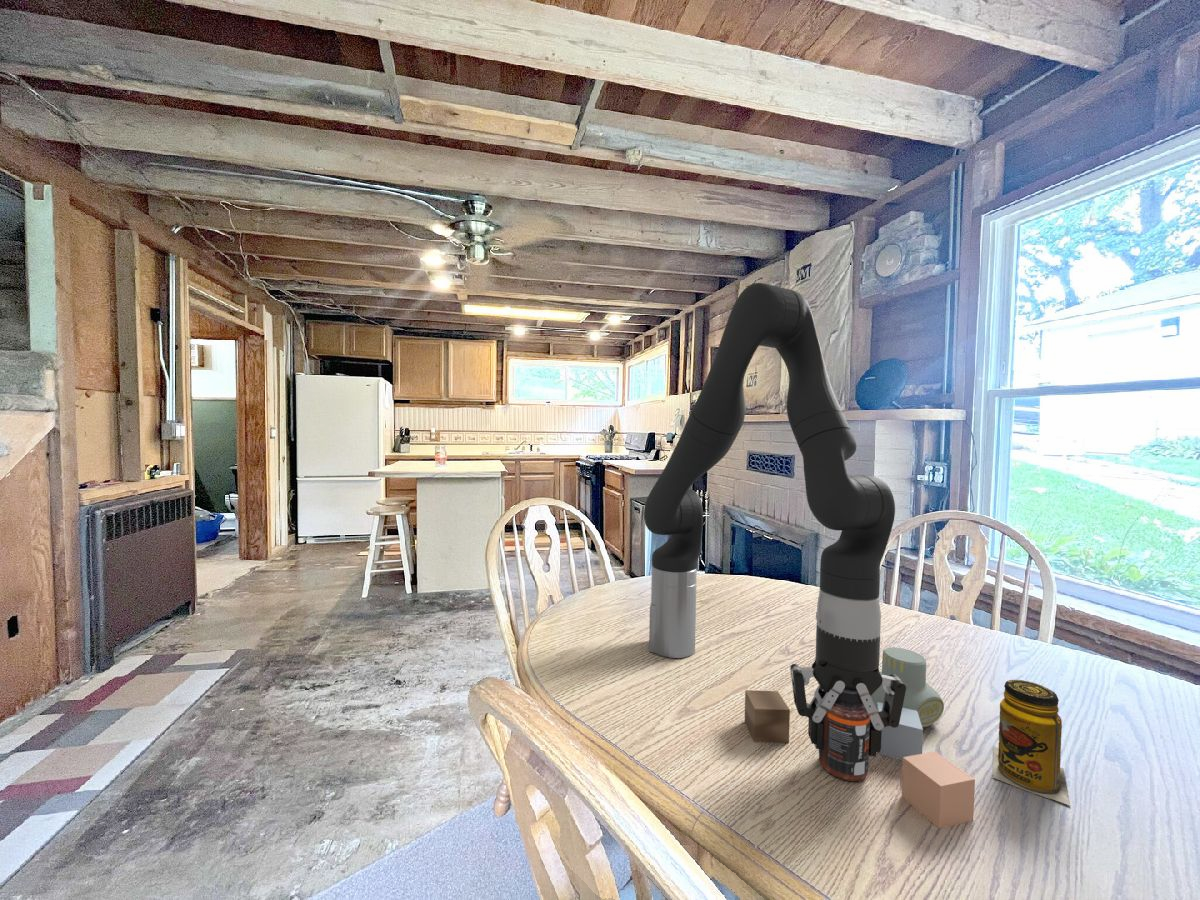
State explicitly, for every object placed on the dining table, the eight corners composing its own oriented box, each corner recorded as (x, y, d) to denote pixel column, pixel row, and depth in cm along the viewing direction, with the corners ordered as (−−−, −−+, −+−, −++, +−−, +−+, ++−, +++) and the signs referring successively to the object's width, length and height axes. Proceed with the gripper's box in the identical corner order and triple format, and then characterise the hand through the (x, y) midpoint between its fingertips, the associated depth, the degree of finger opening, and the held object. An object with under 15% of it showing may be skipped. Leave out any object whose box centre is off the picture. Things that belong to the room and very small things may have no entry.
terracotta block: (939, 829, 54) (940, 786, 54) (901, 796, 59) (902, 757, 59) (973, 821, 56) (975, 779, 55) (933, 790, 60) (935, 751, 60)
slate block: (879, 754, 67) (880, 719, 67) (876, 734, 71) (877, 701, 71) (921, 765, 65) (923, 729, 65) (915, 744, 69) (917, 710, 69)
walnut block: (754, 742, 69) (755, 708, 69) (744, 721, 74) (745, 690, 74) (788, 743, 69) (789, 709, 69) (776, 722, 74) (777, 691, 74)
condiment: (992, 779, 62) (996, 689, 62) (993, 747, 69) (996, 665, 68) (1070, 808, 58) (1075, 710, 57) (1063, 770, 64) (1067, 683, 64)
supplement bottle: (875, 787, 60) (878, 700, 60) (824, 780, 62) (827, 694, 61) (859, 756, 66) (862, 676, 66) (813, 750, 67) (816, 671, 67)
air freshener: (904, 740, 70) (907, 673, 70) (854, 709, 78) (856, 649, 77) (950, 723, 75) (953, 660, 74) (899, 696, 82) (901, 639, 82)
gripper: (796, 631, 61) (792, 760, 62) (920, 642, 58) (916, 777, 59) (785, 610, 68) (781, 725, 69) (895, 619, 66) (891, 739, 66)
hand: (843, 748), depth 64 cm, fingers closed on supplement bottle, 6 cm apart
